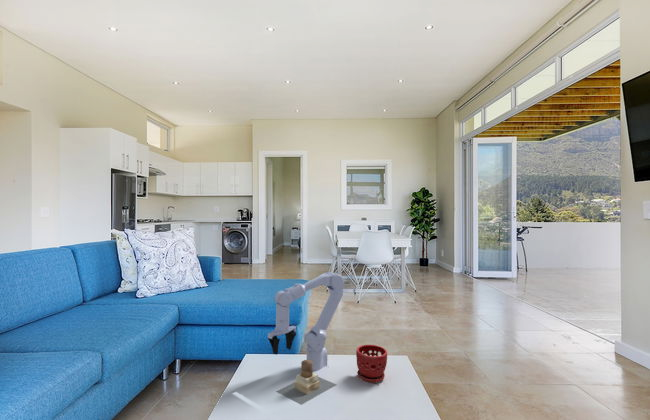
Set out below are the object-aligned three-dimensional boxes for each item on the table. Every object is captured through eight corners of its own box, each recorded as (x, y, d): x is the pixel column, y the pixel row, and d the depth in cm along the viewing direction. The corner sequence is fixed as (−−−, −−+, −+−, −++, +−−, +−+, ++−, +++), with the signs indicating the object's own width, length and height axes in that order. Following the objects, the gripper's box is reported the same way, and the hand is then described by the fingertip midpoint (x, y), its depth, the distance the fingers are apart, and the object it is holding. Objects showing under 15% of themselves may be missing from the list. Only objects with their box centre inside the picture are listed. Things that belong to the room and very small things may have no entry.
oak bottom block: (306, 382, 138) (307, 375, 138) (319, 387, 134) (319, 381, 134) (294, 388, 133) (294, 381, 133) (307, 394, 128) (307, 387, 128)
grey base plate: (311, 376, 145) (311, 374, 145) (336, 387, 136) (336, 384, 136) (275, 394, 130) (275, 391, 130) (301, 407, 121) (301, 404, 121)
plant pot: (352, 382, 140) (352, 352, 141) (361, 369, 153) (361, 342, 153) (383, 388, 136) (383, 357, 136) (390, 374, 148) (390, 346, 148)
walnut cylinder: (306, 371, 136) (306, 359, 137) (314, 374, 134) (314, 361, 134) (299, 375, 133) (299, 362, 133) (307, 378, 130) (307, 365, 130)
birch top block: (307, 376, 138) (307, 370, 138) (317, 381, 134) (317, 374, 134) (296, 381, 133) (296, 375, 133) (307, 386, 129) (307, 380, 129)
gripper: (288, 314, 155) (288, 344, 154) (263, 321, 144) (262, 353, 143) (299, 317, 150) (299, 348, 150) (274, 324, 139) (273, 358, 139)
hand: (282, 351), depth 146 cm, fingers open, 7 cm apart
